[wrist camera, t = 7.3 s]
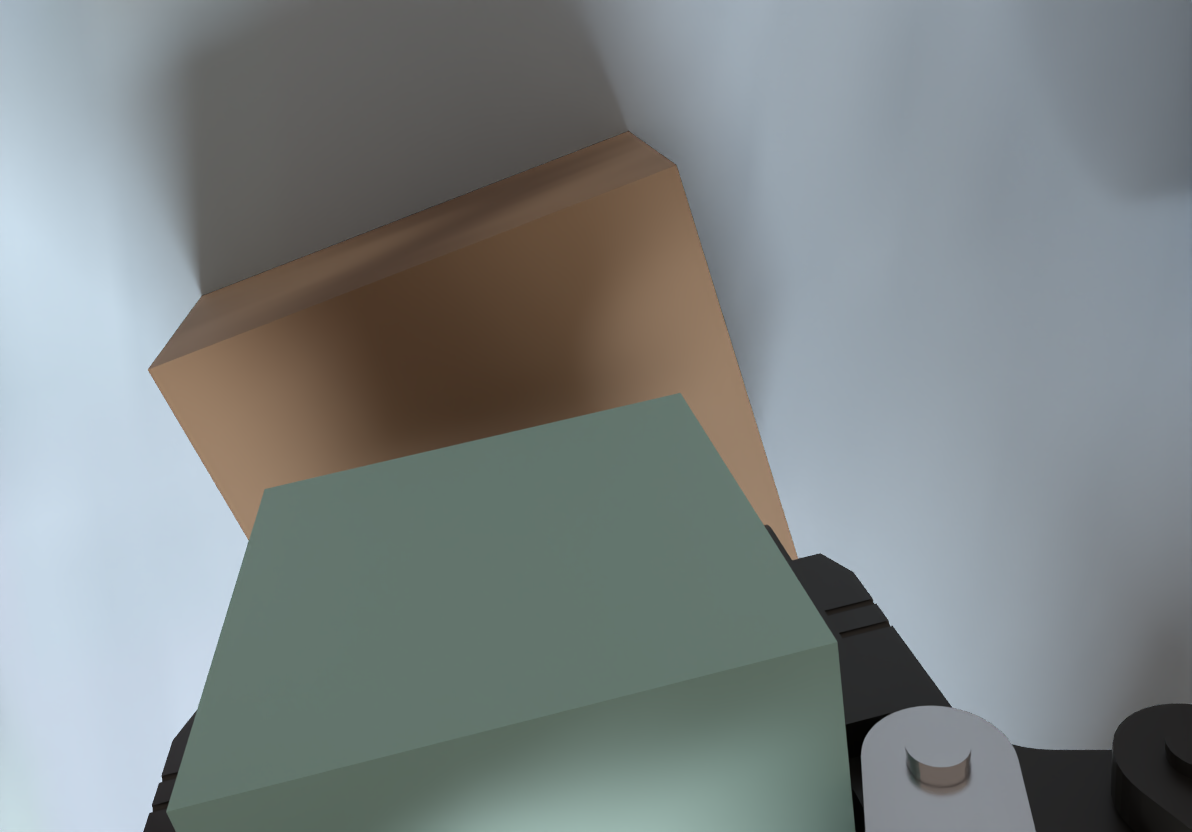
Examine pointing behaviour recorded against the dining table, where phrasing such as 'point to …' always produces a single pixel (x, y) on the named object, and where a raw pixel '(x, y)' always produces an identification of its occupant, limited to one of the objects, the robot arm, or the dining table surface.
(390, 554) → the teal cube
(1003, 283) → the dining table surface
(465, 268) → the walnut block
